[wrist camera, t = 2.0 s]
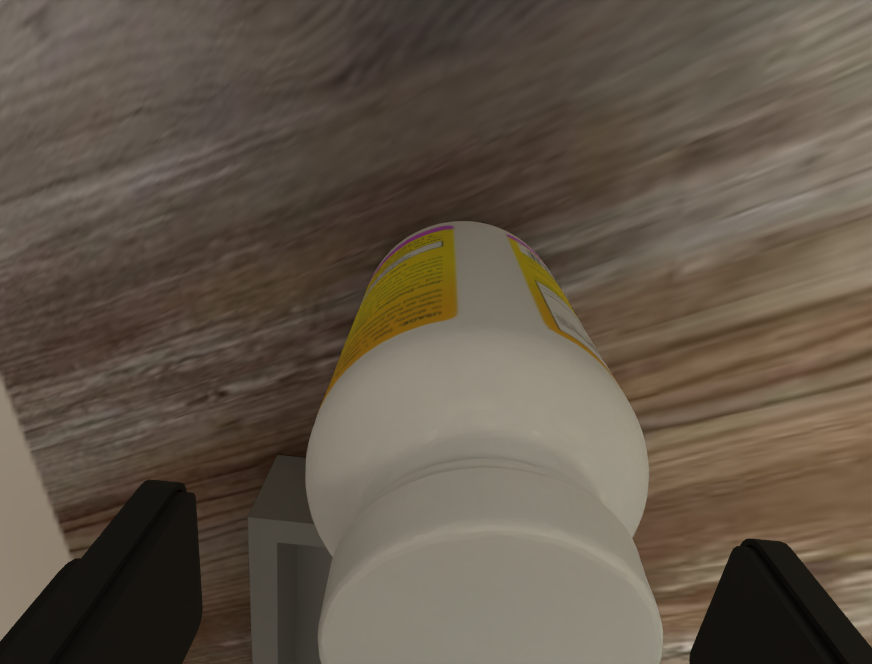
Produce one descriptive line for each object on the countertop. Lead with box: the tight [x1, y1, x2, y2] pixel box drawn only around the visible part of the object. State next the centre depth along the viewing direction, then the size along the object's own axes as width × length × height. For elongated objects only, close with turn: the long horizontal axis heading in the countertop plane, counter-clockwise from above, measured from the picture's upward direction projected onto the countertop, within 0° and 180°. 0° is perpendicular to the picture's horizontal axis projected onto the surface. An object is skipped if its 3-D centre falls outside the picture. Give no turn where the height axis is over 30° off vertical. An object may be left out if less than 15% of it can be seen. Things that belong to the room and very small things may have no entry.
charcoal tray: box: [247, 455, 333, 664], centre depth 23 cm, size 14×13×4 cm
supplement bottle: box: [305, 221, 663, 664], centre depth 13 cm, size 7×7×13 cm
